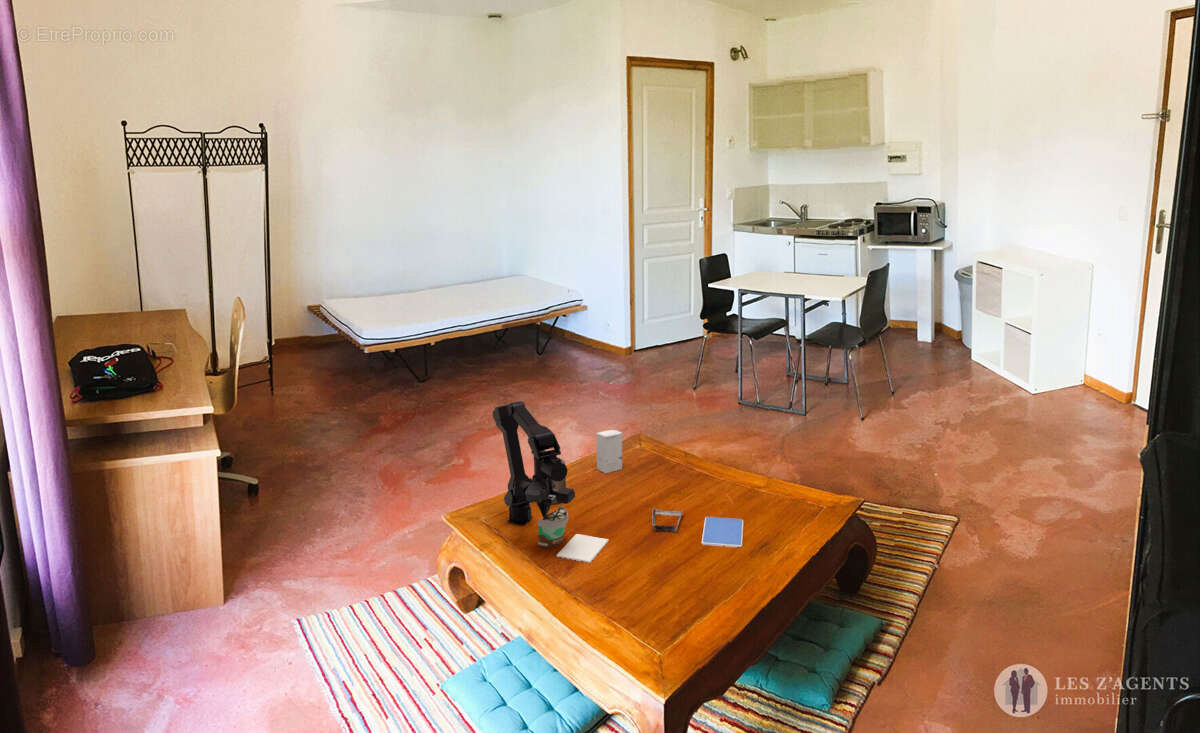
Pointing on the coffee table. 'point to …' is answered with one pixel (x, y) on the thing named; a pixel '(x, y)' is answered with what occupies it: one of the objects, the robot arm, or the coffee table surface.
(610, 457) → the skincare box
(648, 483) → the coffee table surface
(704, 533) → the blue square panel
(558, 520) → the food container
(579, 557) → the white flat rectangular board
